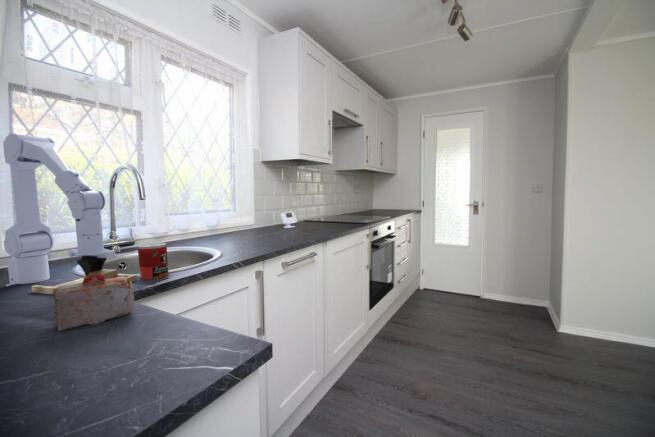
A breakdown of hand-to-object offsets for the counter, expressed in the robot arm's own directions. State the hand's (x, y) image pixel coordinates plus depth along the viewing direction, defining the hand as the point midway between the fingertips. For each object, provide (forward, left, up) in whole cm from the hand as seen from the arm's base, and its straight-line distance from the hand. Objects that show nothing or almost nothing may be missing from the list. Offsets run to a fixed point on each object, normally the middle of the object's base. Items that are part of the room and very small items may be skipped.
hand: (94, 282), depth 88 cm
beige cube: (+4, 0, -1) cm, 4 cm away
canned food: (+8, +13, -2) cm, 15 cm away
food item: (+20, -15, -3) cm, 25 cm away
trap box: (-3, 0, -2) cm, 4 cm away
